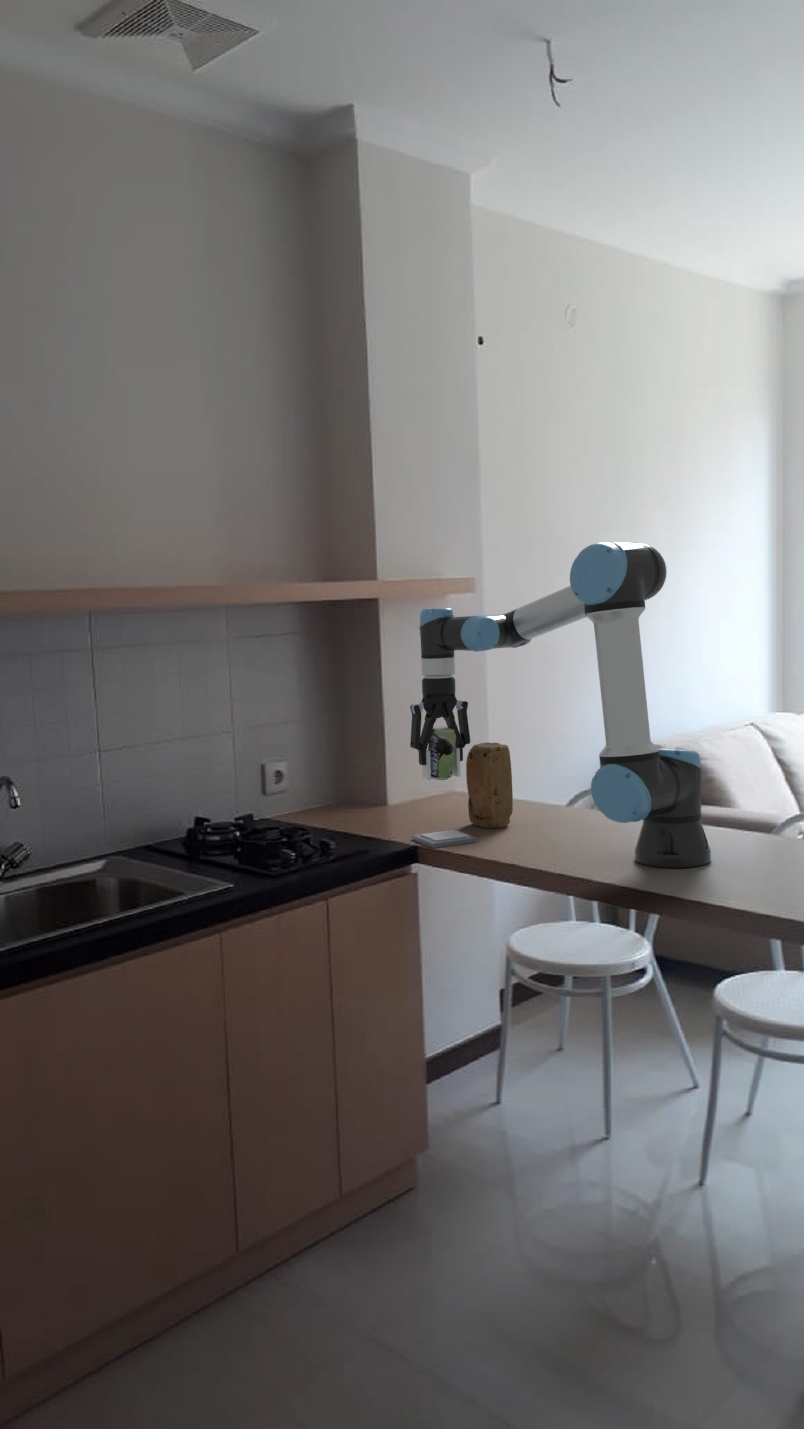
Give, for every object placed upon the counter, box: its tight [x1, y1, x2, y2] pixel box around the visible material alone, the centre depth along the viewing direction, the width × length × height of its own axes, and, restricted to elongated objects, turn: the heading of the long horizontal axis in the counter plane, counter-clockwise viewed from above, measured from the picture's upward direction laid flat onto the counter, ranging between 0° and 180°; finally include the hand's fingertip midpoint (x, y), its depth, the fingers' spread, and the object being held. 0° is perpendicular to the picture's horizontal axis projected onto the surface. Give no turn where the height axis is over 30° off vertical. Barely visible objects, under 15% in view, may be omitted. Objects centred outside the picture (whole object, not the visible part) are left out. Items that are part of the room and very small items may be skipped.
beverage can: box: [427, 726, 456, 781], centre depth 257 cm, size 6×7×12 cm
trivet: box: [411, 829, 478, 849], centre depth 259 cm, size 11×11×1 cm
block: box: [465, 742, 514, 829], centre depth 273 cm, size 11×8×20 cm
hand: (441, 777), depth 258 cm, fingers closed on beverage can, 7 cm apart
